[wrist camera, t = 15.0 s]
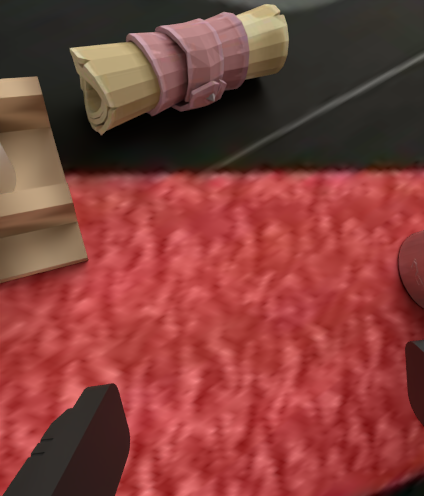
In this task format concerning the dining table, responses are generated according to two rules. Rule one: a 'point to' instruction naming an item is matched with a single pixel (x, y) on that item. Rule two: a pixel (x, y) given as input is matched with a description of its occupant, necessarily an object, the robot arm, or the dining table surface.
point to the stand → (34, 189)
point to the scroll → (179, 65)
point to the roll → (6, 173)
